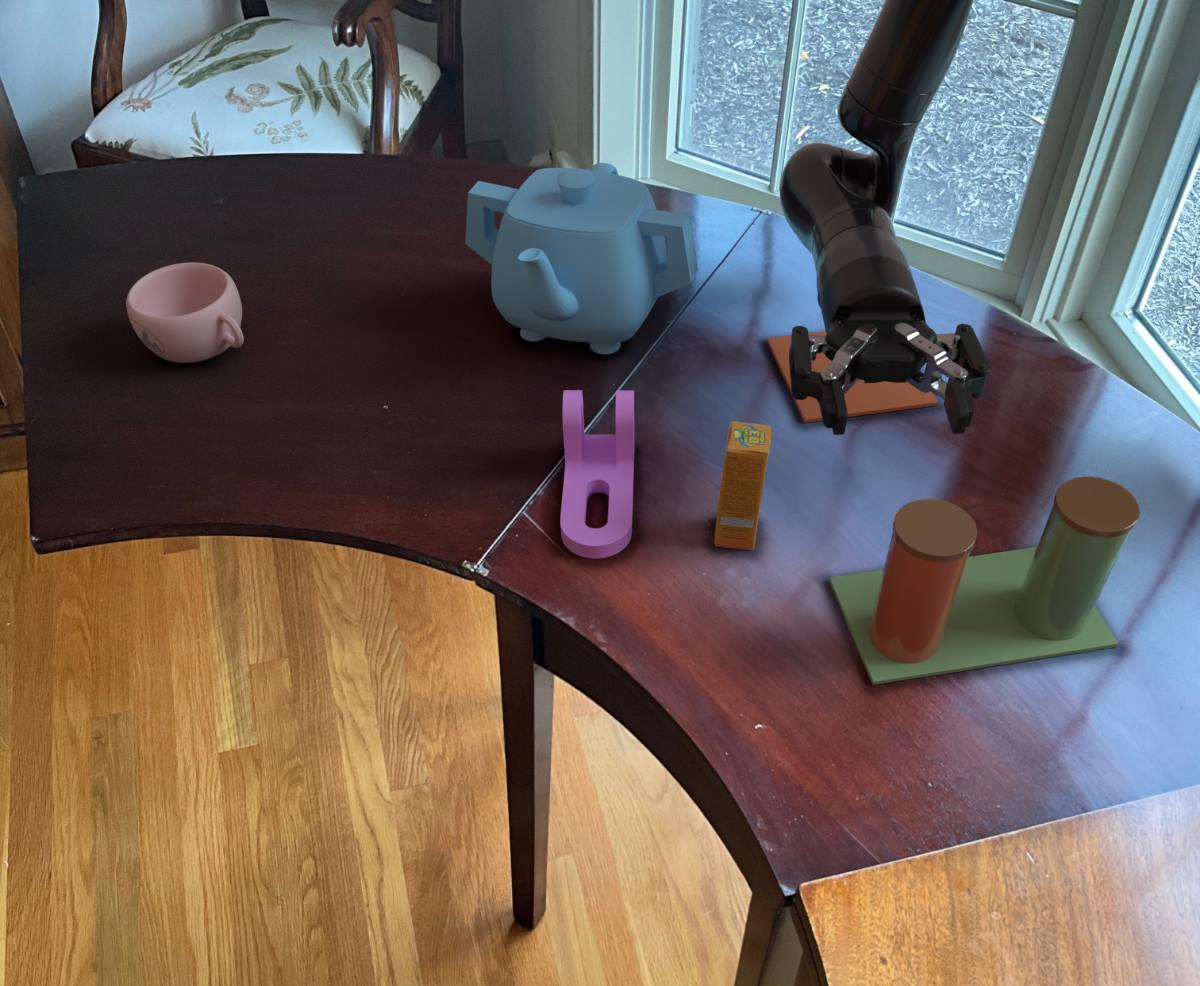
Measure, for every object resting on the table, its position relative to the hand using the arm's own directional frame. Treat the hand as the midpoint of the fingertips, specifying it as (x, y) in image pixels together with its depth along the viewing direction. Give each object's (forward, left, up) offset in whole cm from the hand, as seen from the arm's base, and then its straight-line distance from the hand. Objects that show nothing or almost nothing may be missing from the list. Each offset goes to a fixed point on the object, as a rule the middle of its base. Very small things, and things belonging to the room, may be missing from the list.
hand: (901, 425), depth 79 cm
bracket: (+21, -8, -11) cm, 25 cm away
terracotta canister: (+2, +11, -10) cm, 15 cm away
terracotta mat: (-4, -20, -10) cm, 23 cm away
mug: (+54, -36, -11) cm, 65 cm away
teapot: (+19, -32, -11) cm, 38 cm away
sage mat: (-4, +9, -10) cm, 15 cm away
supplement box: (+11, -2, -11) cm, 15 cm away
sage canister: (-9, +11, -10) cm, 17 cm away
